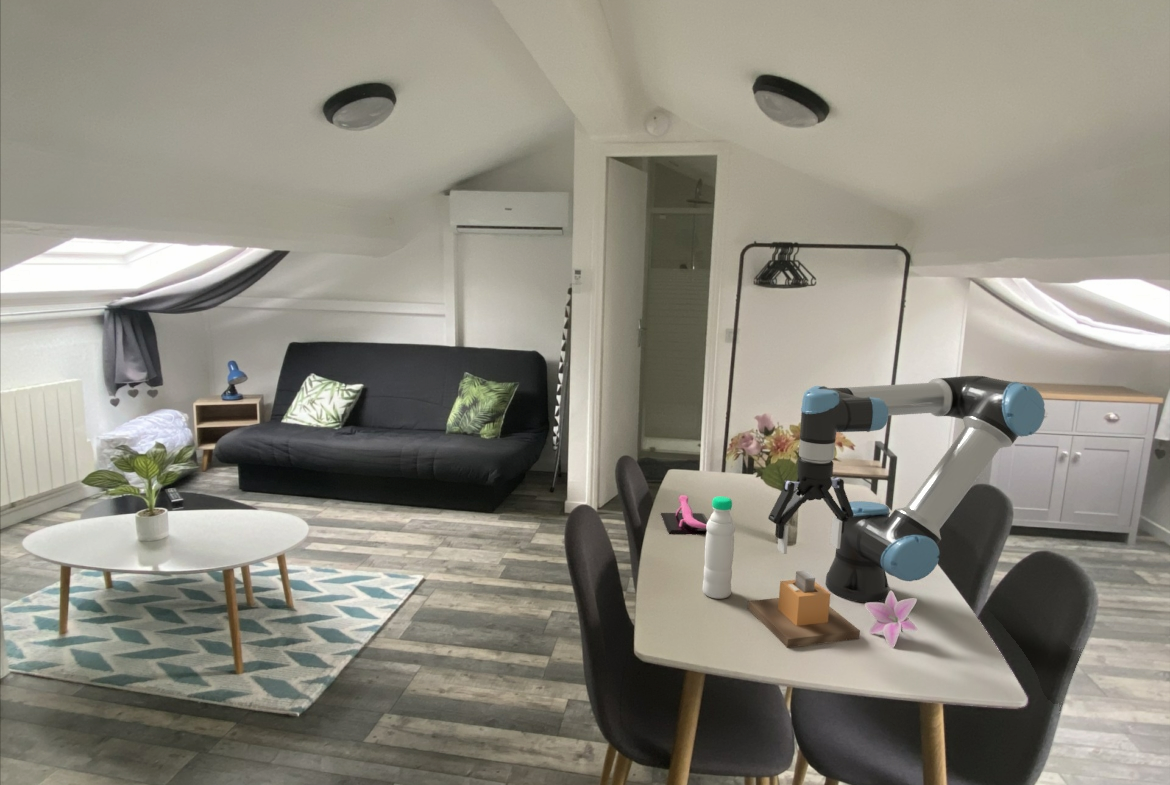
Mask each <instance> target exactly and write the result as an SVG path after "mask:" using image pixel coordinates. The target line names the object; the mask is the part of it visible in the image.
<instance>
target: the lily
mask: <svg viewBox="0 0 1170 785" xmlns="http://www.w3.org/2000/svg"><path fill="white" fill-rule="evenodd" d="M917 601H918V598H916V597H912V598H911V597H910V598H905V599H902V600H897V597H896V596H895V593H894V591H893V590H889V591H888V595H887V598H886V599H885V601H884V603H883V602H879V601H878V602H864V606H865V608H866V610H867V611H868V613H869V614H871V616H872V617H873V619H875V622H874V623H873V624H872V625H871V627H870V629H869V632H868V633H869V634H870V635H873V634H879V633H882V632H883V636H884V638H885V640H886V643H887V644H888V646H889V648H891V649H894V648H895V645H896V644H897V641H898V638H899V635H900V633H903V631H907V632H918V631H919V630H918V628H917V626H916V625H915V623H914V622H913V621H912V620H911V618H909V617H908V616H909V615H910V613H911V612H912V609H913V608H914V607H915V605H916V603H917Z"/></svg>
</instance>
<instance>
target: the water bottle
mask: <svg viewBox="0 0 1170 785" xmlns="http://www.w3.org/2000/svg"><path fill="white" fill-rule="evenodd" d="M711 505H712V509H713V512H712V513H711V515H710V517H709V519H707V520H708V522H707V525H706V529H707V533H706V535H705V544H704V545H705V546H704V567H703V581H702V592H703V594H704V595H705V596H707V597H709V598H712V599H718V600H719V599H720V600H721V599H726V598H729V597H730V596H731V593H732V578H733V568H732V567H733V562H734V552H735V551H734V550H735V532H736V525H735V523H734V521H733V517H732V515H731V513H730V512H731V510H732V507H733V501H732V499H731V498H729V497H727V496H715V497H713V498H712V501H711Z"/></svg>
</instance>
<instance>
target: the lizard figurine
mask: <svg viewBox="0 0 1170 785" xmlns="http://www.w3.org/2000/svg"><path fill="white" fill-rule="evenodd" d="M678 503H679V504H680V506H679V507H678V508H677V510H676V512H660V513H661V514H660V517H661V516H662V517H661V518H663V519H662V521H664V522H663V523H664V527H665V528H667V529H666V531H667V533H669V534H668V535H686V534H692V535H695V536H696V534H697V535H698V536H702V535H703V536H706V533H707V529H706V525H707V522H708V520H709V519H708V518H707V517H706V516H705V513H702V512H701V513H700V512H699V513H698V512H697V513H696V512H693V510H692V508H691V507H690V505H689V497H688V496H687V495H684V494H683V495H682V494H681V495H679V496H678Z"/></svg>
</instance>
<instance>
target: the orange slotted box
mask: <svg viewBox="0 0 1170 785" xmlns="http://www.w3.org/2000/svg"><path fill="white" fill-rule="evenodd" d="M778 593H779V594H778V598H779V604H778V609H779V610H780V611H781V612H782V613H783V614H784V615H785V616H786V617H787V618H788V619H790V620H791V621H792V622H793V623H794V624H795V625H796V626H799V625H808V624H817V623H826V622H828V615H829V606H830V603H831V593H832V592H831V593H830V592H829V591H828V590H827V589H825V588H824V587H822V585H820V584H819V583H818V582H816V581H815V585H814V592H809V593H804V592H802V591H801V590H800V589H799V588H798V587H796V586H795V579H788V580H780V582H779V592H778Z"/></svg>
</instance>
